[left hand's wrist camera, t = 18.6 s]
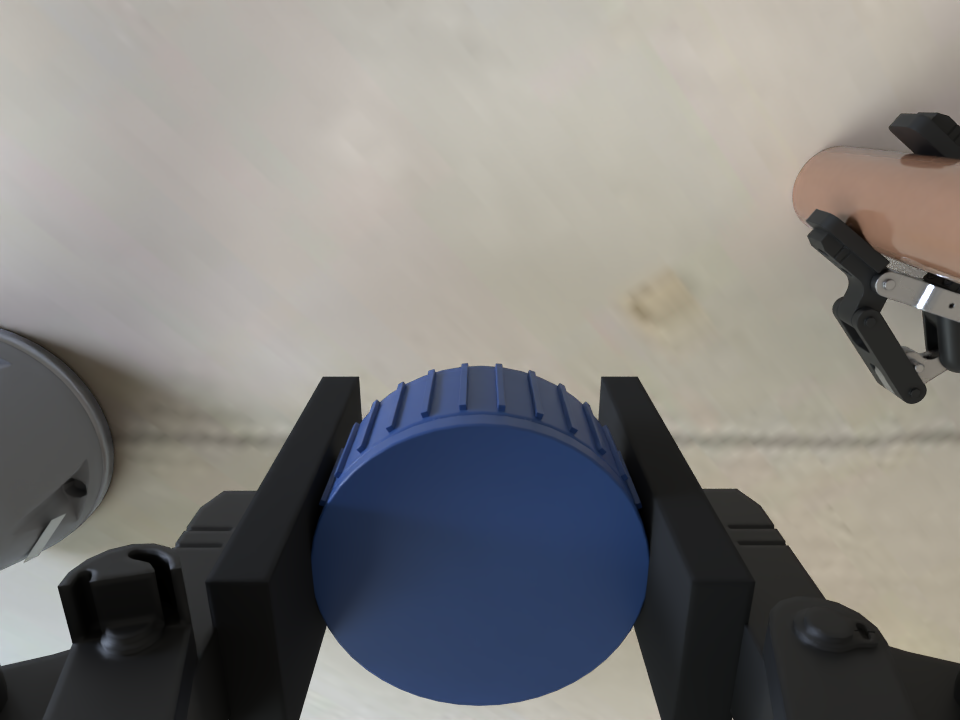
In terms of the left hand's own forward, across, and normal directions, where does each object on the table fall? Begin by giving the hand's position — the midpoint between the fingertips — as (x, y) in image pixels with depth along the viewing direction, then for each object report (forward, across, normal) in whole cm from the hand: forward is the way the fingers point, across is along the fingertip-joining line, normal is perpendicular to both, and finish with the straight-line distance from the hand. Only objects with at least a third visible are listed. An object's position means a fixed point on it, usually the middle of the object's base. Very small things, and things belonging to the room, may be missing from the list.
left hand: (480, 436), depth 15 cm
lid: (-4, 0, 0) cm, 4 cm away
